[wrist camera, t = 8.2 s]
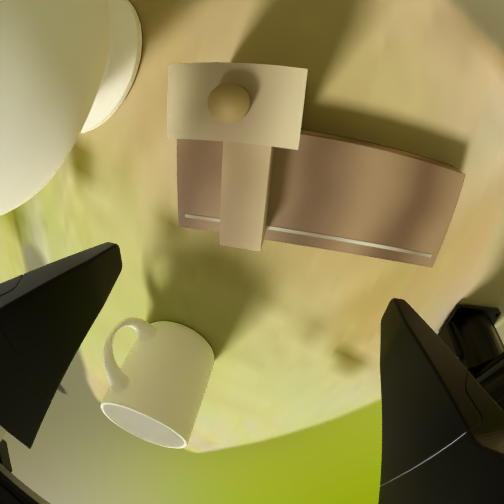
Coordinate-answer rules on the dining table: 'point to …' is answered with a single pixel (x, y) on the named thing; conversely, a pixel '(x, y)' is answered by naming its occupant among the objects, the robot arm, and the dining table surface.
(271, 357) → the dining table surface
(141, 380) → the mug
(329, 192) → the board
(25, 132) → the decorative vase
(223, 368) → the dining table surface
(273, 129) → the beige box with knob
